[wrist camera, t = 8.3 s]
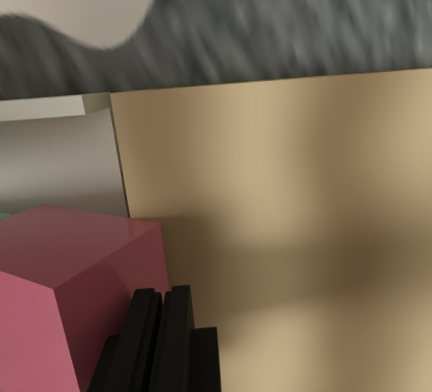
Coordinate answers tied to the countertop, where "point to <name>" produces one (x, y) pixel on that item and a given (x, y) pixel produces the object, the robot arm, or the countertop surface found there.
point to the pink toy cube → (69, 291)
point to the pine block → (295, 222)
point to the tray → (61, 155)
